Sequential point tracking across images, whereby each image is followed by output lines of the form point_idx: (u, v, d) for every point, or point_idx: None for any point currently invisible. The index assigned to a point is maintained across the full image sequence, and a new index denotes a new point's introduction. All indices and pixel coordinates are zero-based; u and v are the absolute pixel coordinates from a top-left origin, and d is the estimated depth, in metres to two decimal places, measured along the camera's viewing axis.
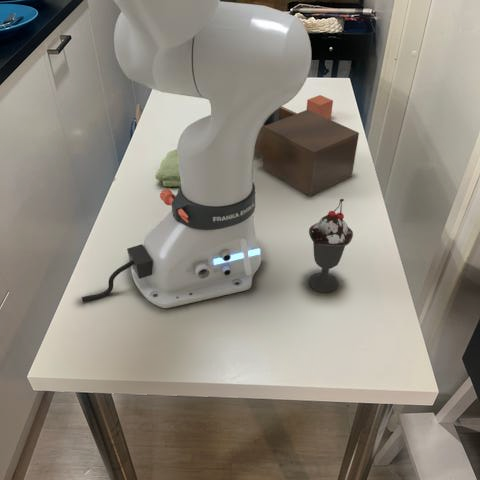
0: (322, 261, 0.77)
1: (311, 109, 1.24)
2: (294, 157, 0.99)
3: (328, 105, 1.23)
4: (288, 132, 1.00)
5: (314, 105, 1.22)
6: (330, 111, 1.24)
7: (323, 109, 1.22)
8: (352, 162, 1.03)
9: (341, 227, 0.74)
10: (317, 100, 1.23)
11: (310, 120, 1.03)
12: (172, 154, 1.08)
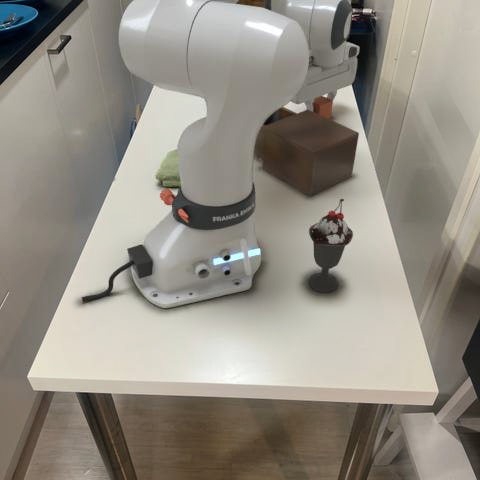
0: (322, 261, 0.77)
1: None
2: (294, 157, 0.99)
3: (328, 105, 1.23)
4: (288, 132, 1.00)
5: (314, 105, 1.22)
6: (330, 111, 1.24)
7: (323, 109, 1.22)
8: (352, 162, 1.03)
9: (341, 227, 0.74)
10: (317, 100, 1.23)
11: (310, 120, 1.03)
12: (172, 154, 1.08)
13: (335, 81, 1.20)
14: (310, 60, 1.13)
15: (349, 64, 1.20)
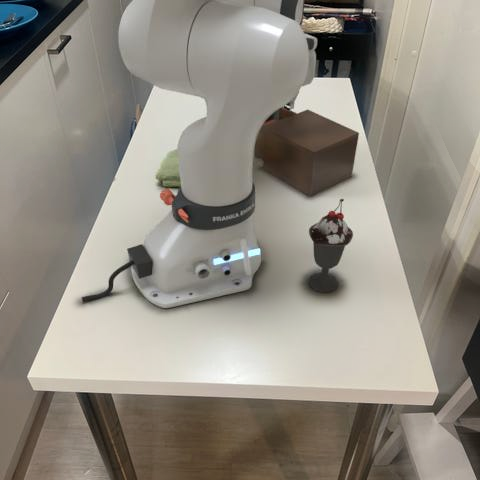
0: (322, 261, 0.77)
1: None
2: (294, 157, 0.99)
3: None
4: (288, 132, 1.00)
5: None
6: None
7: None
8: (352, 162, 1.03)
9: (341, 227, 0.74)
10: None
11: (310, 120, 1.03)
12: (172, 154, 1.08)
13: None
14: None
15: None
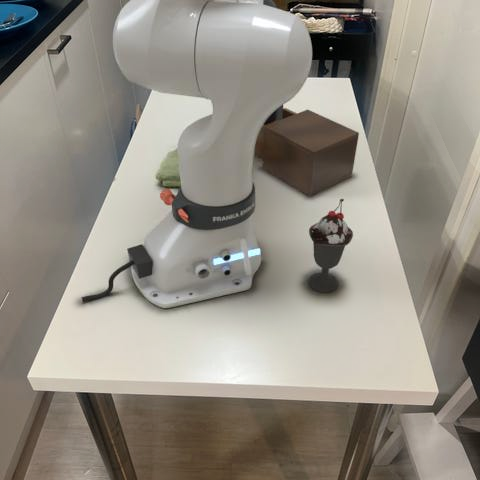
0: (322, 261, 0.77)
1: None
2: (294, 157, 0.99)
3: None
4: (288, 132, 1.00)
5: None
6: None
7: None
8: (352, 162, 1.03)
9: (341, 227, 0.74)
10: None
11: (310, 120, 1.03)
12: (172, 154, 1.08)
13: None
14: None
15: None
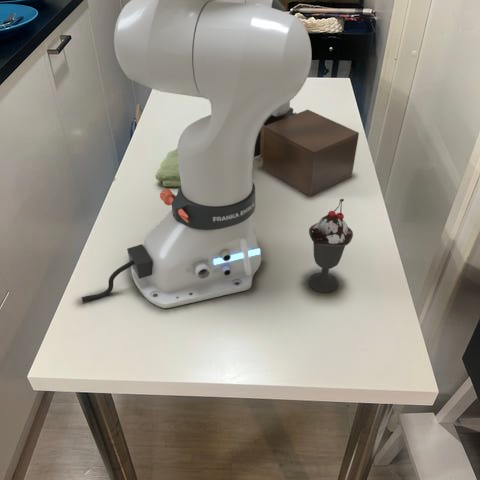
0: (322, 261, 0.77)
1: None
2: (294, 157, 0.99)
3: None
4: (288, 132, 1.00)
5: None
6: None
7: None
8: (352, 162, 1.03)
9: (341, 227, 0.74)
10: None
11: (310, 120, 1.03)
12: (172, 154, 1.08)
13: None
14: None
15: None
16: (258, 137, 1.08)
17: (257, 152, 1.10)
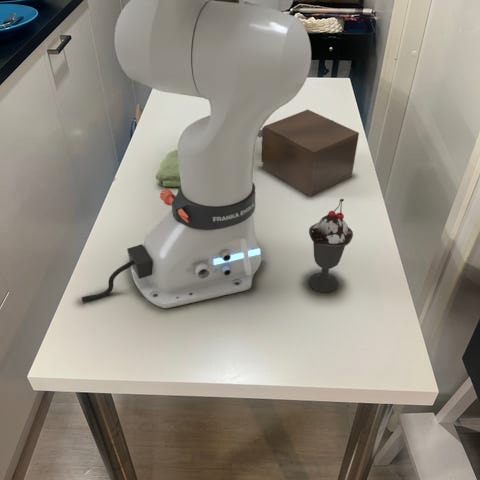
0: (322, 261, 0.77)
1: None
2: (294, 157, 0.99)
3: None
4: (288, 132, 1.00)
5: None
6: None
7: None
8: (352, 162, 1.03)
9: (341, 227, 0.74)
10: None
11: (310, 120, 1.03)
12: (172, 154, 1.08)
13: None
14: None
15: None
16: None
17: None
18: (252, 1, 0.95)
